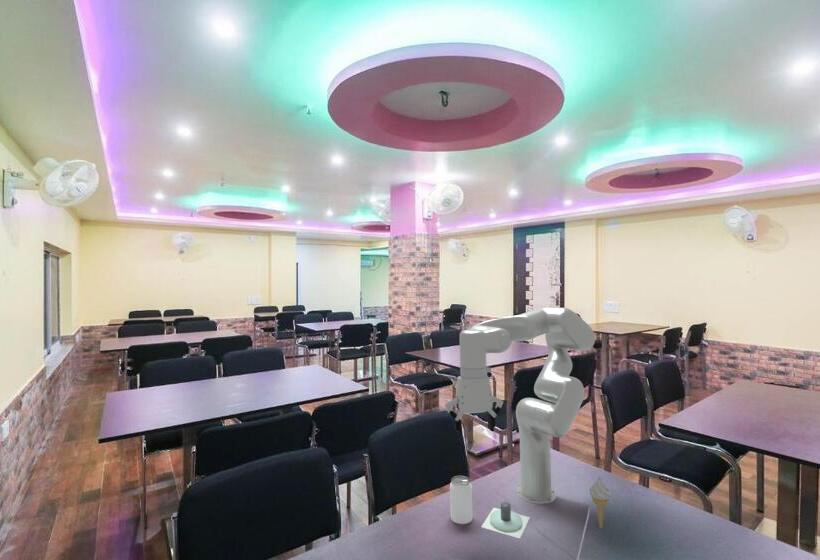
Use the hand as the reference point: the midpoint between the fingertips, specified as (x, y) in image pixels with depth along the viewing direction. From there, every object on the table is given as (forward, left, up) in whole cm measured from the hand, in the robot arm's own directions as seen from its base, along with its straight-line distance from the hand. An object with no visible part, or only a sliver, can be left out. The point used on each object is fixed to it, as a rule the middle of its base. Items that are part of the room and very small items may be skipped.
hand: (475, 431), depth 117 cm
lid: (-4, +7, -26) cm, 28 cm away
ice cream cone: (-15, +31, -28) cm, 44 cm away
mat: (-4, +7, -27) cm, 28 cm away
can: (0, -5, -28) cm, 28 cm away
